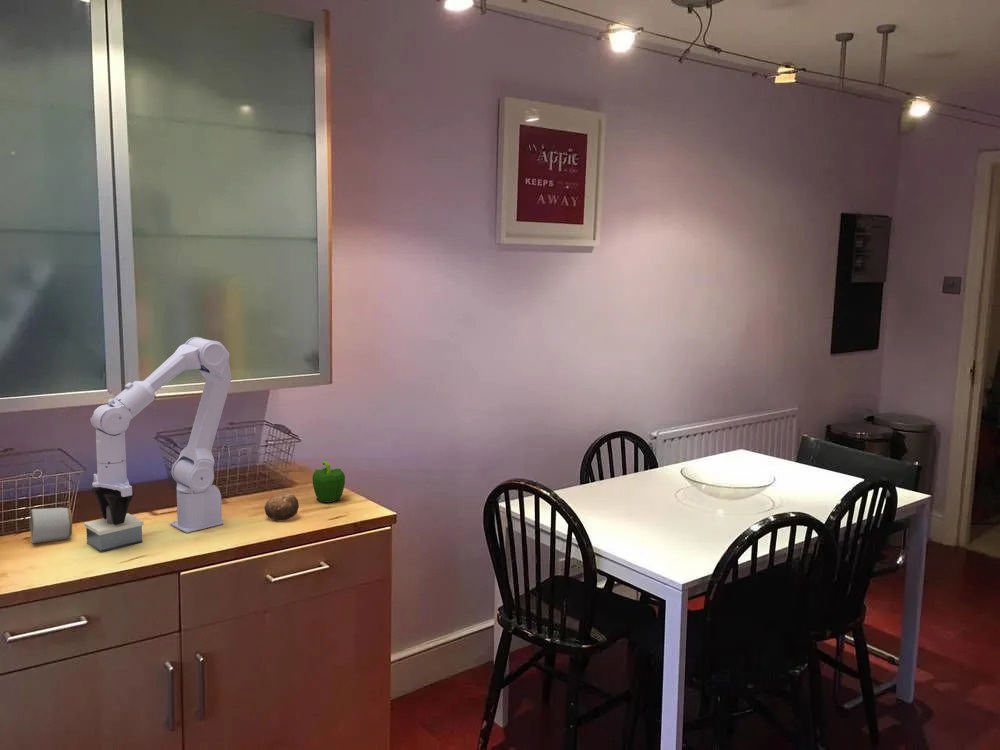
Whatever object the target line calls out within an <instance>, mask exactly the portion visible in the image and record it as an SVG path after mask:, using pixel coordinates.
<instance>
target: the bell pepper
mask: <svg viewBox="0 0 1000 750" xmlns="http://www.w3.org/2000/svg"><path fill="white" fill-rule="evenodd" d="M321 464H322V466H325V467H323V468H321V469H314V473H313V475H312V487H313V491H314V494H315V496H316V498H317V500H318V501H319V502H321V503H331V502H334V501H338V500H340V499H341V498H342V497H343V492H344V490H345V489H344V488H345V483H346V476H345V473H344V471H342V469H341V468H335V469H331V465H330V463H329V462H328V461H322V462H321Z"/></svg>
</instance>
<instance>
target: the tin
mask: <svg viewBox="0 0 1000 750" xmlns="http://www.w3.org/2000/svg"><path fill="white" fill-rule="evenodd" d="M85 529H86V531H85V532H86V544H87V545H88V546H89V547H91V548H93V549H94V550H96V551H98V552H99V553H104V552H109V551H113V550H115V549H116V550H117V549H121V548H125V547H128V546H133V545H137V544H141V543H143V525H141V526H137V527H133V528H129V529H124V530H120V531H116V532H111V533H107V534H103V535H98V534H96V533H95V532H93V531H91V530H90V529H88V528H86V527H85Z"/></svg>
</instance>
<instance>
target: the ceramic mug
mask: <svg viewBox="0 0 1000 750" xmlns="http://www.w3.org/2000/svg"><path fill="white" fill-rule="evenodd" d="M29 519H30V525H29V526H30V539H31V543H32V544H39V543H40V544H41V543H48V542H52V541H53V542H54V541H61V540H66V539H68V538H71V536H72V535H73V515H72V511H71V509H70V508H68V507H50V508H33V509H31V510H30V517H29Z"/></svg>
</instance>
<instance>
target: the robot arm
mask: <svg viewBox="0 0 1000 750" xmlns="http://www.w3.org/2000/svg"><path fill="white" fill-rule="evenodd" d="M230 356H231V354H230V353H229V351H228V350H227V348H226V347H225V346H224V345H223V344H222V342H220V341H217V340H211V339H206V338H204V337H200V336H194V337H190V338H189V339H188V340H187V341H185V343H183V344H181V345H179V346H178V347H177V349H176V350H175V351H174V352H173V354H172V355H170V356H169V357H168V358H167V359H166V360H165V361H164V362H162V364H160V366H158V367H157V368H156V369H155V370H154V371H152V373H150V375H149V376H147V377H146V378H145V379H144V380H134V381H133V382H130V381H129V382H128V383H126V384H125V385H124V387H125V389H123V390H122V391H121V392H120V393H118V394H117V395H116V396H115V397H113V398H109V399H108V400H107V404H102V405H100V406H98V407H97V408H95V410H94V411H93V414H92V415H91V417H90V419H89V420H90V423H91V425H92V427H93V428H95V445H96V446H95V447H96V448H95V449H96V468H97V469H96V470H97V473H93V482H92V484H91V486H92V487H93V488H91V492H93V495H94V496H95V497H96V499H97V502H98V504H99V508H100V512H101V515H102V517H103V518H102V519H107V512H106V507H107V506H109V507H110V511H111V517H112V521H113V524H114V525H117V524H121V523H124V521H125V517H126V514H127V512H128V508H129V505H130V502H131V501H132V499H133V497H134V495H135V492H134V491H133V486H132V485H130V482H129V479H128V477H127V476H128V475H127V454H126V450H127V449H126V434H125V432H126V431H127V429H128V428H129V425H130V423H131V422H130V421H131V420H132V419H133V418H135V416H137V415H138V414H139V413H141V412H142V411H143V410H144V409H145V408H146V407H147V406H148V405H150V404H152V403H153V402H154V400H155V395H156V394H155V393H156V392H157V391H158V390H160V389H161V388H162V387H164V386H165V385H166V384H167V383H169V382H171V380H173V379H174V378H175V377H177V376H178V375H180V374H181V373H182V372H184V371H188V370H198V371H199V372H200V374H201V376H202V377H203V378H204V380H205V382H204V385H203V390H202V393H201V396H200V397H201V398H200V400H199V404H198V407H197V411H196V414H195V418H194V422H193V424H192V428H191V433H190V435H189V439H188V442H187V445H186V446H185V447H184V448H183V449H182V450H181V451H180V453H179V457H178V458H177V460H176V461H175V462H174V463H173V465H172V467H171V476H172V478H173V480H174V481H175V482H176V505H177V506H176V512H177V513H176V515H177V516H176V517H177V518H176V519H177V520H175V521H171V522H169V525H170V526H172V527H174V528H176V529H177V530H180V531H182V532H183V533H185V534H188V533H191V532H196V531H199V530H203V529H208V528H212V527H215V526H219V525H223V524H224V521H223V516H222V515H223V514H222V513H223V511H222V508H223V507H222V494H221V492H220V489H219V488H218V486H217V485H215V484H213V482H214V480H215V472H214V468H215V467H214V466H215V458H214V456H213V446H214V442H215V439H216V435H217V432H218V428H219V425H220V421H221V417H222V415H223V410H224V407H225V403H226V400H227V396H228V392H229V389H230V386H231V383H232V382H231V381H232V374H231V373H232V372H231V368H230V362H229V359H230Z"/></svg>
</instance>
